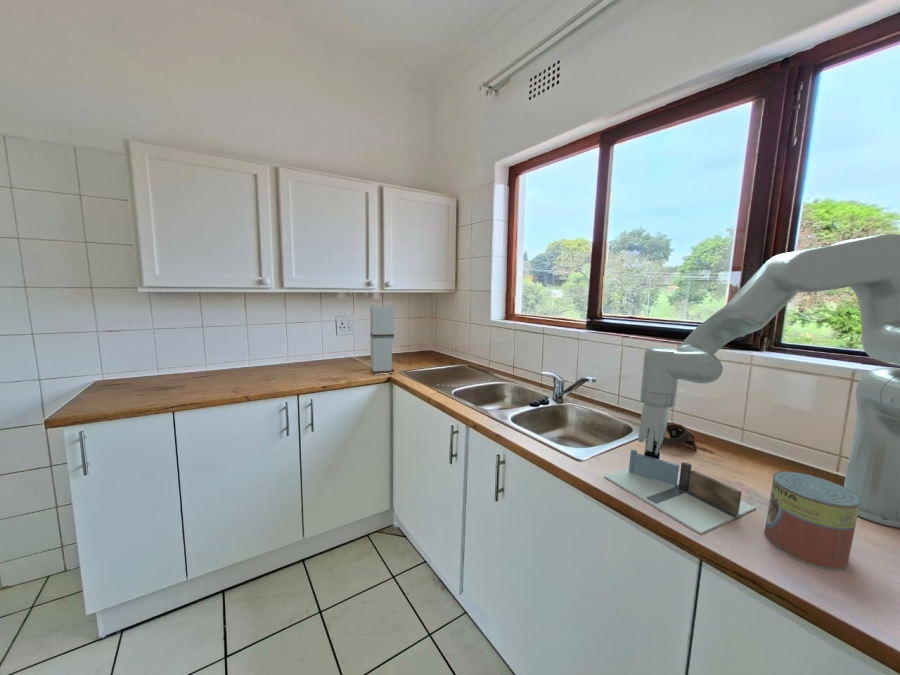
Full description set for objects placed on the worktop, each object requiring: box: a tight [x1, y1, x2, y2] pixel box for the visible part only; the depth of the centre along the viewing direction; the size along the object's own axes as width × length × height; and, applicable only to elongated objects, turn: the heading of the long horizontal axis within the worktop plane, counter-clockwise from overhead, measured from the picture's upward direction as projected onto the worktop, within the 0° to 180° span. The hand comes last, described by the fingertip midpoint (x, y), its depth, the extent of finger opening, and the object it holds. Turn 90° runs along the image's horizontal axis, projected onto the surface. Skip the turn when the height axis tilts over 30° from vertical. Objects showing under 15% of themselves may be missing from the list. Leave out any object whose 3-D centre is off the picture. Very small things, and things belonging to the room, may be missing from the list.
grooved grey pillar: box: [369, 305, 395, 375], centre depth 190 cm, size 11×11×35 cm
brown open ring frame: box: [660, 421, 698, 452], centre depth 109 cm, size 12×10×8 cm
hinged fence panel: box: [628, 449, 680, 486], centre depth 89 cm, size 10×1×6 cm, turn 51°
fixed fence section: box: [679, 461, 743, 515], centre depth 80 cm, size 12×2×7 cm, turn 26°
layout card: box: [603, 468, 757, 535], centre depth 84 cm, size 23×20×1 cm
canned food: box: [763, 470, 861, 571], centre depth 66 cm, size 11×11×12 cm
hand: (650, 466), depth 92 cm, fingers closed
